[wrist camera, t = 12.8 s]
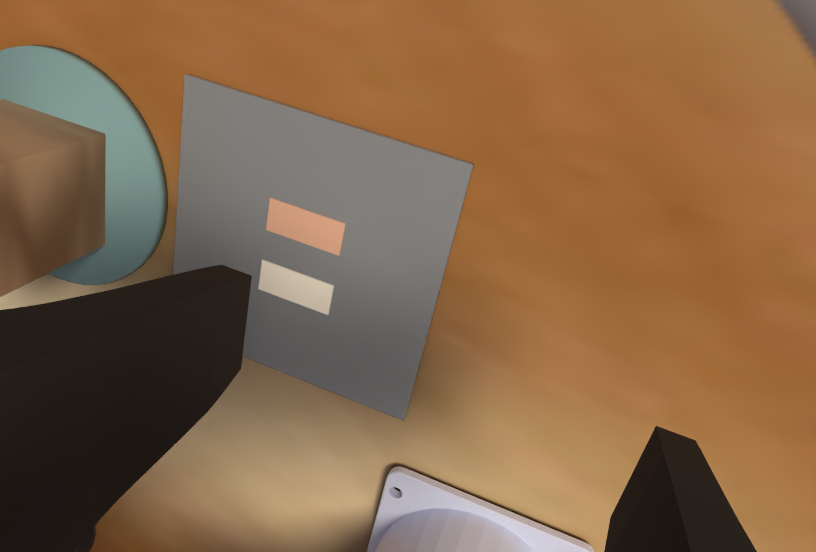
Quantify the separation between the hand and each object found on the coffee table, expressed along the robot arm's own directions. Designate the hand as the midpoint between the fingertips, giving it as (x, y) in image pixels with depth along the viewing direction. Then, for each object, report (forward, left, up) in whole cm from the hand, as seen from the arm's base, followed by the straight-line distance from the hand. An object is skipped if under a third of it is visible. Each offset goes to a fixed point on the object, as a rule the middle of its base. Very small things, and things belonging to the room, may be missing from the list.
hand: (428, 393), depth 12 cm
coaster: (-4, +17, -10) cm, 20 cm away
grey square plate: (-4, +7, -10) cm, 13 cm away
